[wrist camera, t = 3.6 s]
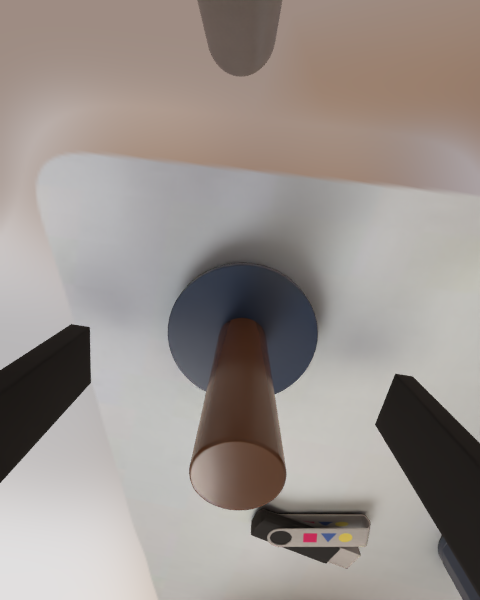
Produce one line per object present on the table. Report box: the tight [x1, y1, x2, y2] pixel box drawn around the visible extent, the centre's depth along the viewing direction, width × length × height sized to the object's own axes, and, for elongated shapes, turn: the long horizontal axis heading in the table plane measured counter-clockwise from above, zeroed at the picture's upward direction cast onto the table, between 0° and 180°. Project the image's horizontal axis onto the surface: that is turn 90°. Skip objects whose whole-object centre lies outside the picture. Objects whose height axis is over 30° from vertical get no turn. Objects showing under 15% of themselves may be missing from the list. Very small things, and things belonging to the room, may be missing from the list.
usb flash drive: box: [251, 509, 371, 569], centre depth 20 cm, size 9×5×1 cm, turn 63°
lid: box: [168, 263, 318, 510], centre depth 11 cm, size 8×8×9 cm
